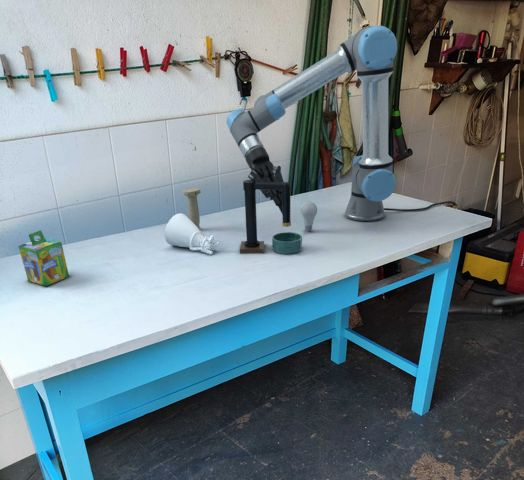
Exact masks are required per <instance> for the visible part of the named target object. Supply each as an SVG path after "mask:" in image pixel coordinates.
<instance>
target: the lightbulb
mask: <svg viewBox="0 0 524 480" xmlns="http://www.w3.org/2000/svg"><path fill="white" fill-rule="evenodd" d="M317 213H318V207H317V205H316V203H314V202H313V201H305V202H304V203H303V204H302V205H301V207H300V215H301V216H302V218H303V223H304V229H305V231H306V232H311V231H312V230H313V224H314V220H315V217H316V216H317Z"/></svg>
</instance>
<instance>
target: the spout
mask: <svg viewBox="0 0 524 480" xmlns="http://www.w3.org/2000/svg"><path fill="white" fill-rule="evenodd" d="M242 184H243V185H242V187H243V189H242V190H243V191H254V190H259V191H260V190H282V207H283V215H282V221H281V226H282V227H284V228H285V227H286V228H289V227H291V226H292V221H291V184H290V182H288V181H284V182H256V181H255V180H251V179H245V180H243V181H242Z"/></svg>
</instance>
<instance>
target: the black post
mask: <svg viewBox="0 0 524 480" xmlns="http://www.w3.org/2000/svg"><path fill="white" fill-rule="evenodd" d="M256 190H257V189H256ZM256 190H254V191H245V190H243V191H244V211H245V232H246V235H245V236H246V240H244V241H243V240H241V241H240V245H239V254H264V252H265V240H258V223H257V221H258V220H257V194H256V193H257V191H256Z"/></svg>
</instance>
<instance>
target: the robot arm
mask: <svg viewBox="0 0 524 480" xmlns="http://www.w3.org/2000/svg"><path fill="white" fill-rule="evenodd" d="M397 52H398V41H397V38H396V36H395V33H394V32H392V30H390V28H388V27H386V26H384V25H381V24H380V25H369V26H365V27H362V28H360V29H359V30H358V31H356V32H355V33H354V34H352V36H351V37H349V38H348V39H346V40H345V41H343V42H341V43H340V44H338V45H337V49H336V50H335V51H333V52H332V53H330V54H328V55H327V56H325V57H324V58H322V59H320V60H319V61H317V62H316V63H313V64H312V65H310V66H309V67H308V68H306V69H304V70H302V71H301V72H300V73H298V74H296V75H294V76H292V77H291V78H290V79H288V80H287V81H285V82H283V83H281V84H280V85H278V86H277V87H275V88H274V89H272V90H270V91H269V92H267V93H265V94H263V95H260V96H259V97H257V98H256V99H255V101H254V105H253V107H252V108H250V109H249V110H247V111H245V109H243V108H237V109H236V110H232V111H231V112H230V113H229V114H228V115H227V116H226V120H225V121H226V125H227V128H228V130H229V132H230V134H231V136H232V137H233V140H234V141H235V143H236V145H237V146H238V149H239V151H240V152H241V154H242V157H243V159H244V160H245V162H246V164H247V166H248V168H249V169H250V172H249V174H248V175H247V178H248V180H255V181H256V182H285V180H284V178H283V175H282V167H281V166H280V165H278V166H275V165H274V163H272V162H271V160H270V156H269V153H268V151H267V150H266V148H265V146H264V144H263V142H262V141H261V139H260V136H259V135H258V133H260V132H262V130H264V129H265V128H267V127H269V126H270V125H272V124H273V123H275V122H276V121H278V120H280V119H281V118H282V117H284V116H285V115H286V114H287V113H286V111H287V110H286V109H287V108H289V107H291V106H293V105H294V104H296V103H298V102H299V101H301V100H303V99H304V98H306V97H307V96H309V95H311V94H313V93H314V92H316V91H318V90H319V89H321V88H322V87H324V86H327V84H329V83H331V82H332V81H334V80H336V79H337V78H339V77H341V76H342V75H344V74H346V73H348V74H351V73H354V72H355V71H356V77H357V78H358V80H360V81H361V108H362V110H361V112H362V152H363V153H362V154H363V155H356V156H355V157H354V158H353V160H352V164H351V167H352V172H351V189H350V190H351V191H350V198H349V200H348V203H347V204H346V205H347V206H346V209H345V214H344V216H345V217H346V218H347V219H349V220H352V221H357V222H376V221H380V220H382V219H384V218H385V211H392V212H418V211H425V210H429V209H430V208H432V207H435V206H440V205H445V204H452V205H454V206H455V207H456V206H457V207H458V204H457V203H456V202H455V201H452V200H451V201H450V200H445V201H441V202H435V203H431V204H429V205H428V206H425V207H421V208H420V207H419V208H388V207H384V203H383V201H385V200H387V199H388V198H389V197H390V196H391V195H392V194H393V193H394V191H395V189H396V185H397V180H396V177H395V174H394V173H393V172H394V171H393V170H394V169H393V166H394V165H393V163H394V161H393V160H394V159H393V157H391V156H390V155H389V78H390V77H391V75H393V73H394V60H395V57H396V55H397ZM259 191H260V192H261V193H262V195H263V196H264V197H265V199H269V200H270V201H273V202H274V204H275V206H276V207H278V208H279V211H280V213H281V215H282V216H283V207H282V190H259Z"/></svg>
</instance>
